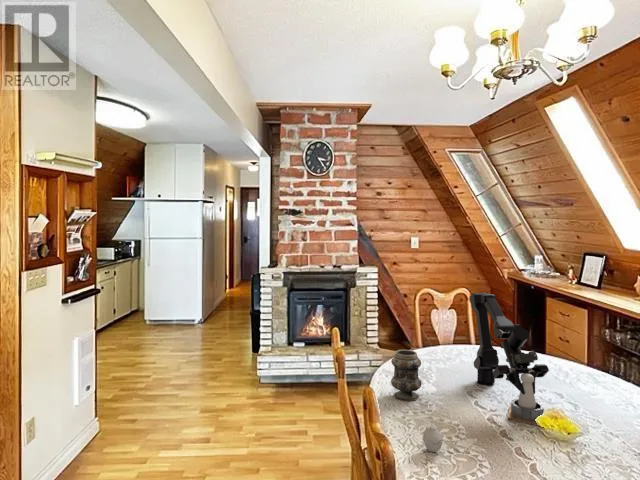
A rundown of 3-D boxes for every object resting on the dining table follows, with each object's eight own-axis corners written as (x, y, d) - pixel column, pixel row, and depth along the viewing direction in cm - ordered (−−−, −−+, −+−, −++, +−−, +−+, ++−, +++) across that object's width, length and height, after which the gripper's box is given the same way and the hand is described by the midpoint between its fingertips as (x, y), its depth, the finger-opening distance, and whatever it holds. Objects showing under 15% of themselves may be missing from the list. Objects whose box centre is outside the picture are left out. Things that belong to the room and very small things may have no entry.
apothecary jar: (424, 393, 176) (424, 350, 175) (417, 404, 165) (417, 358, 164) (395, 389, 181) (395, 346, 180) (387, 399, 170) (387, 354, 170)
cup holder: (507, 419, 151) (507, 407, 151) (510, 407, 162) (510, 395, 162) (545, 427, 145) (545, 414, 145) (546, 413, 156) (546, 401, 156)
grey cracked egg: (439, 444, 135) (439, 422, 134) (446, 456, 128) (446, 433, 127) (419, 444, 134) (419, 422, 134) (426, 456, 127) (426, 433, 127)
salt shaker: (534, 415, 150) (534, 378, 149) (516, 411, 153) (517, 375, 152) (537, 409, 154) (537, 373, 154) (519, 405, 158) (520, 370, 157)
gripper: (496, 343, 156) (511, 384, 146) (546, 342, 157) (564, 383, 147) (487, 358, 164) (500, 398, 154) (534, 356, 165) (550, 396, 155)
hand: (529, 393), depth 152 cm, fingers closed on salt shaker, 3 cm apart
